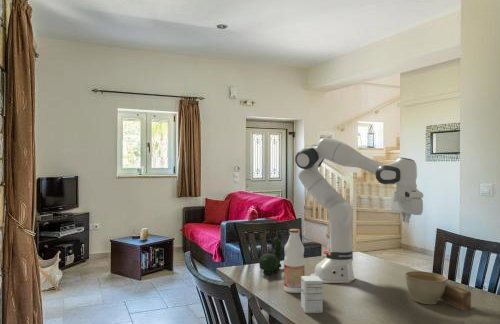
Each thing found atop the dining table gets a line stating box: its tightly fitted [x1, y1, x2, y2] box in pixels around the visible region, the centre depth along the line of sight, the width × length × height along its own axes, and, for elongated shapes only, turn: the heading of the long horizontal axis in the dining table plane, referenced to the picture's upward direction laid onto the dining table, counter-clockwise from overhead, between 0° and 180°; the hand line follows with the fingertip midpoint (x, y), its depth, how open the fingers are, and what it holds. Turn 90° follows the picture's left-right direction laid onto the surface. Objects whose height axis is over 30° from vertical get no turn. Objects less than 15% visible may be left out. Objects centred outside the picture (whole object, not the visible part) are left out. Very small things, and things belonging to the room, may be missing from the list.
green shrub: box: [258, 236, 284, 276], centre depth 215 cm, size 9×19×25 cm
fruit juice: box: [283, 228, 306, 294], centre depth 185 cm, size 9×9×28 cm
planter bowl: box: [404, 270, 447, 305], centre depth 172 cm, size 16×16×11 cm
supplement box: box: [300, 275, 324, 314], centre depth 160 cm, size 7×7×13 cm
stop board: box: [438, 281, 472, 311], centre depth 173 cm, size 4×24×7 cm, turn 12°
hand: (405, 222), depth 186 cm, fingers closed
